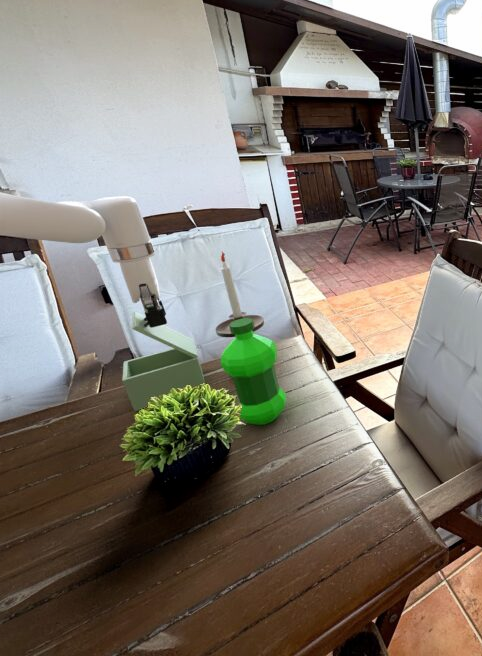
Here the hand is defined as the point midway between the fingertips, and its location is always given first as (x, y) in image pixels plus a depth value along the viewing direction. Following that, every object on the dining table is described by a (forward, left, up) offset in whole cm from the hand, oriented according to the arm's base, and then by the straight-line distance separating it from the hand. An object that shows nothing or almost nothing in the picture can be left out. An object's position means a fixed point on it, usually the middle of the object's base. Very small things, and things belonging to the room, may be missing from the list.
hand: (158, 320), depth 98 cm
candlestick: (+16, 0, -20) cm, 25 cm away
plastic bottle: (+21, -24, -20) cm, 37 cm away
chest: (-2, -1, -19) cm, 19 cm away
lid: (0, 0, -4) cm, 5 cm away
